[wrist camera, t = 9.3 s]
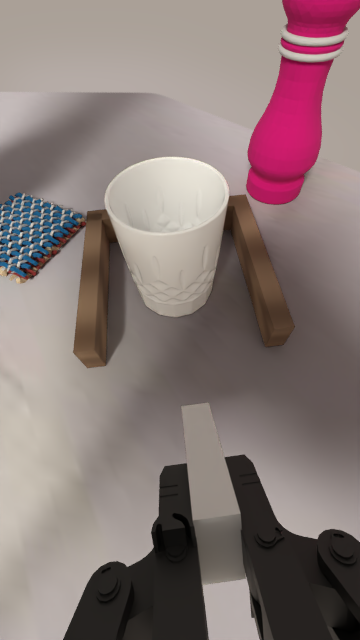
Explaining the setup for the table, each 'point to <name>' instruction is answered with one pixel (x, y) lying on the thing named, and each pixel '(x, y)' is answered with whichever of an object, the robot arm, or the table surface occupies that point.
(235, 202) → the walnut bay
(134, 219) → the white cup
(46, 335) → the table surface
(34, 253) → the woven mat
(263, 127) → the pepper mill
